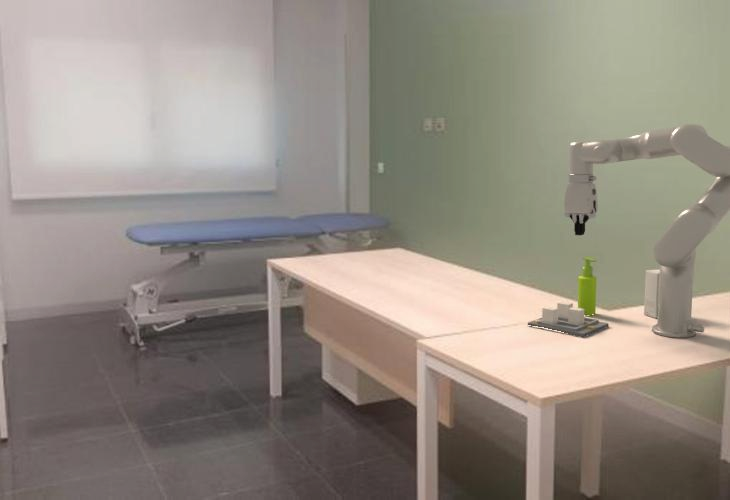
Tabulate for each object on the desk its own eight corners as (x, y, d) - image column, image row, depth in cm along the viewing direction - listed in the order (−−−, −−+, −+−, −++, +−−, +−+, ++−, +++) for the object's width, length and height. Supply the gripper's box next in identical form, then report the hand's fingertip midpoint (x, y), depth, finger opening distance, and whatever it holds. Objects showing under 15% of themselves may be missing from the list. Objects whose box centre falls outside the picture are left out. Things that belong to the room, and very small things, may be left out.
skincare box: (655, 319, 229) (657, 273, 227) (642, 314, 235) (644, 270, 233) (676, 316, 231) (678, 271, 229) (663, 312, 237) (664, 268, 235)
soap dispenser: (585, 317, 234) (586, 260, 230) (574, 312, 240) (575, 256, 237) (600, 315, 235) (602, 258, 232) (589, 311, 242) (590, 255, 238)
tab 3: (584, 324, 220) (584, 309, 220) (579, 325, 218) (579, 310, 218) (572, 321, 223) (573, 307, 223) (568, 323, 221) (568, 308, 221)
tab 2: (572, 317, 228) (572, 303, 228) (567, 319, 226) (568, 304, 226) (561, 315, 231) (562, 301, 231) (557, 317, 229) (557, 303, 228)
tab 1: (558, 323, 222) (558, 308, 222) (553, 325, 220) (553, 310, 220) (547, 321, 225) (547, 306, 224) (542, 323, 223) (542, 308, 222)
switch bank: (608, 326, 221) (608, 320, 221) (583, 337, 211) (583, 331, 210) (554, 316, 236) (554, 310, 236) (527, 326, 225) (527, 320, 225)
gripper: (607, 179, 221) (606, 235, 224) (566, 178, 232) (565, 231, 235) (596, 180, 216) (594, 238, 219) (554, 179, 227) (553, 234, 229)
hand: (579, 234), depth 227 cm, fingers closed
